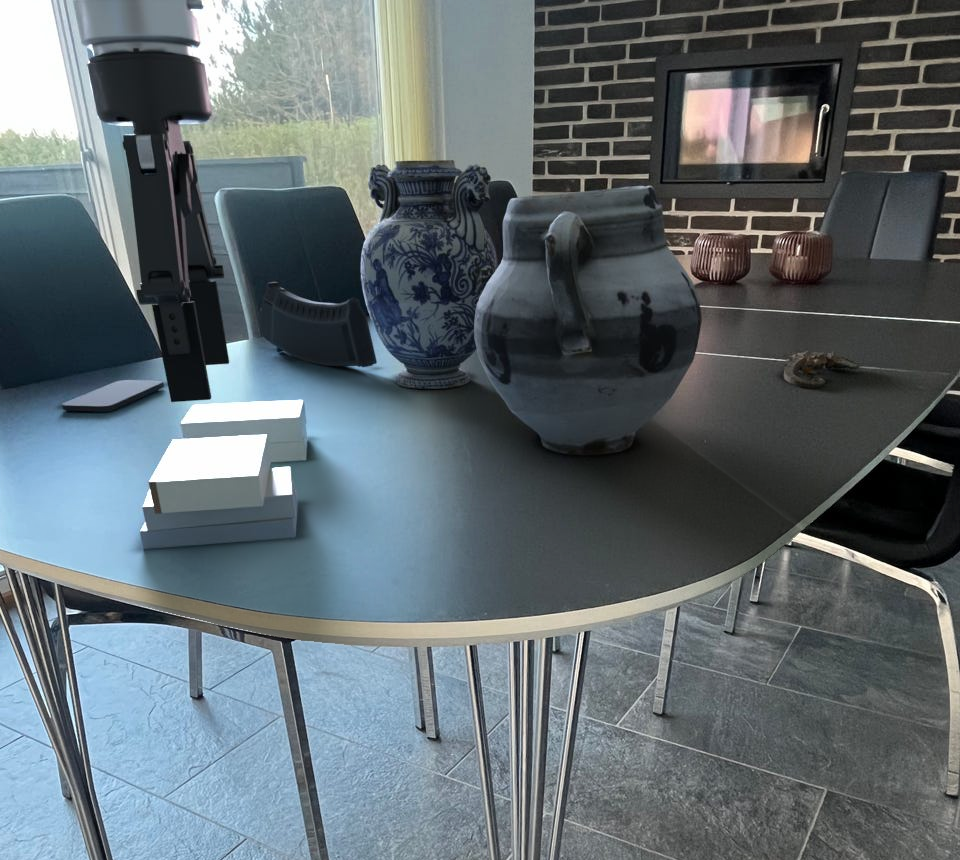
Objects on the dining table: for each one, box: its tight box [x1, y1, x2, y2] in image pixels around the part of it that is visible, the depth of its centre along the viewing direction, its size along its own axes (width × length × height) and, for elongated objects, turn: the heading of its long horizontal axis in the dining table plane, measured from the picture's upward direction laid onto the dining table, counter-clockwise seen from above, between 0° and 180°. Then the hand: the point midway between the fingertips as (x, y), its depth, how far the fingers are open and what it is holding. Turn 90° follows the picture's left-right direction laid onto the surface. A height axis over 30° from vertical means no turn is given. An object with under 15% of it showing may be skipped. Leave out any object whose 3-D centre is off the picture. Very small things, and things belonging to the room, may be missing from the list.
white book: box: [148, 435, 272, 514], centre depth 71 cm, size 8×12×2 cm
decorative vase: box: [360, 159, 499, 390], centre depth 118 cm, size 21×19×28 cm
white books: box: [180, 399, 308, 463], centre depth 92 cm, size 12×8×5 cm
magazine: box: [259, 281, 378, 368], centre depth 138 cm, size 17×3×30 cm
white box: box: [139, 466, 299, 550], centre depth 73 cm, size 12×8×4 cm
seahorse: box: [783, 348, 860, 389], centre depth 122 cm, size 9×16×3 cm, turn 132°
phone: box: [61, 379, 165, 413], centre depth 119 cm, size 7×1×15 cm
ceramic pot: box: [474, 185, 703, 456], centre depth 88 cm, size 29×23×25 cm
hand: (203, 380), depth 68 cm, fingers open, 13 cm apart
